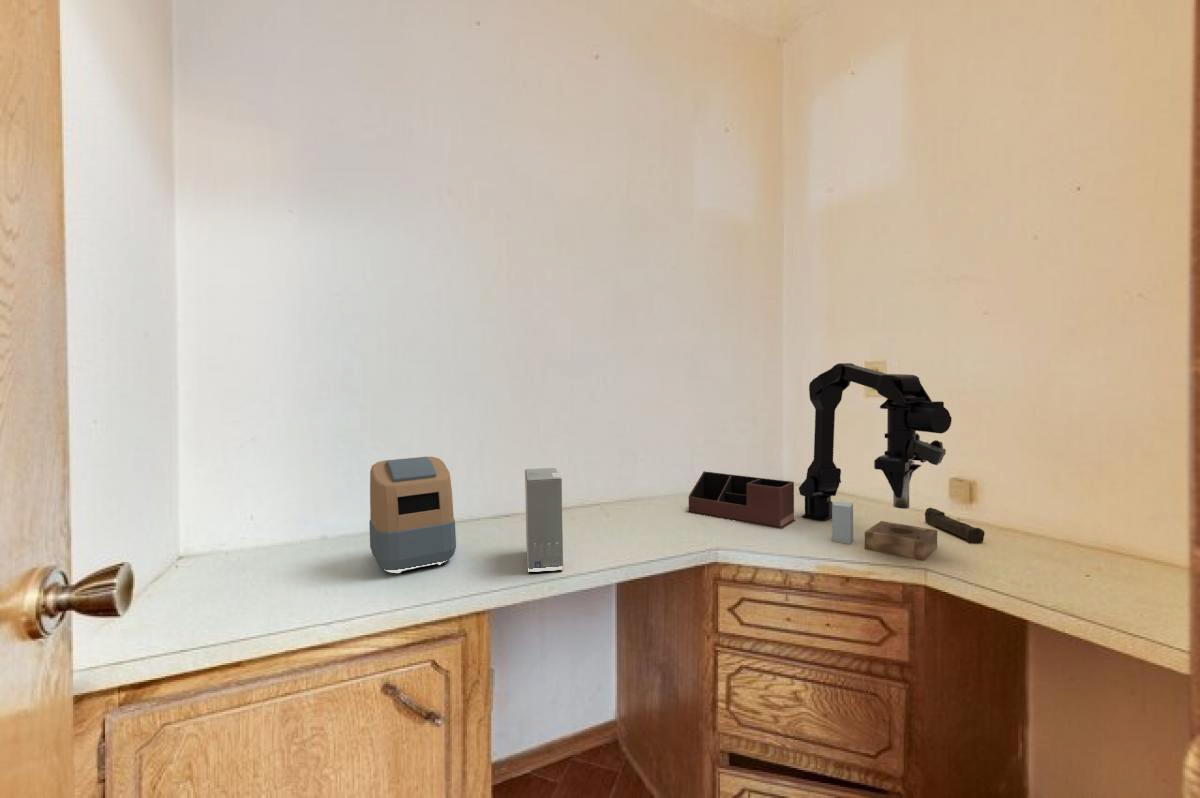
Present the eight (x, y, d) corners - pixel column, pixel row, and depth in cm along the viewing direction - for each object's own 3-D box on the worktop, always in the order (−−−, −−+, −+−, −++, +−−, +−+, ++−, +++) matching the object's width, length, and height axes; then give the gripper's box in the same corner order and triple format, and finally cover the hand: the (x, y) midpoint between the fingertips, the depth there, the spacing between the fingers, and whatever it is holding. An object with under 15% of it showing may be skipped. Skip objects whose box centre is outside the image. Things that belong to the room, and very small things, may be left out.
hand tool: (985, 544, 125) (986, 525, 125) (968, 544, 125) (968, 525, 125) (936, 522, 144) (936, 506, 144) (921, 523, 144) (921, 506, 144)
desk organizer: (782, 530, 139) (782, 488, 139) (686, 513, 158) (685, 476, 158) (796, 521, 147) (796, 481, 147) (703, 506, 166) (703, 470, 166)
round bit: (891, 507, 122) (891, 468, 122) (895, 504, 125) (896, 466, 124) (906, 509, 120) (907, 470, 120) (910, 506, 122) (911, 468, 122)
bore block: (864, 548, 123) (864, 531, 123) (881, 536, 131) (881, 520, 131) (923, 560, 114) (923, 542, 114) (937, 547, 123) (937, 530, 123)
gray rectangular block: (832, 541, 129) (832, 504, 128) (835, 537, 132) (835, 501, 132) (850, 544, 126) (850, 506, 126) (853, 539, 130) (853, 503, 129)
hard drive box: (564, 572, 112) (562, 478, 111) (527, 575, 110) (525, 480, 110) (557, 548, 127) (556, 466, 126) (525, 551, 126) (523, 468, 125)
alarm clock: (381, 581, 108) (376, 469, 107) (368, 558, 123) (364, 459, 122) (461, 564, 117) (458, 461, 116) (440, 545, 131) (437, 452, 130)
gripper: (931, 435, 109) (930, 509, 110) (951, 427, 123) (951, 494, 123) (873, 432, 117) (873, 501, 118) (898, 425, 131) (898, 487, 131)
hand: (901, 496), depth 122 cm, fingers closed on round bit, 3 cm apart
